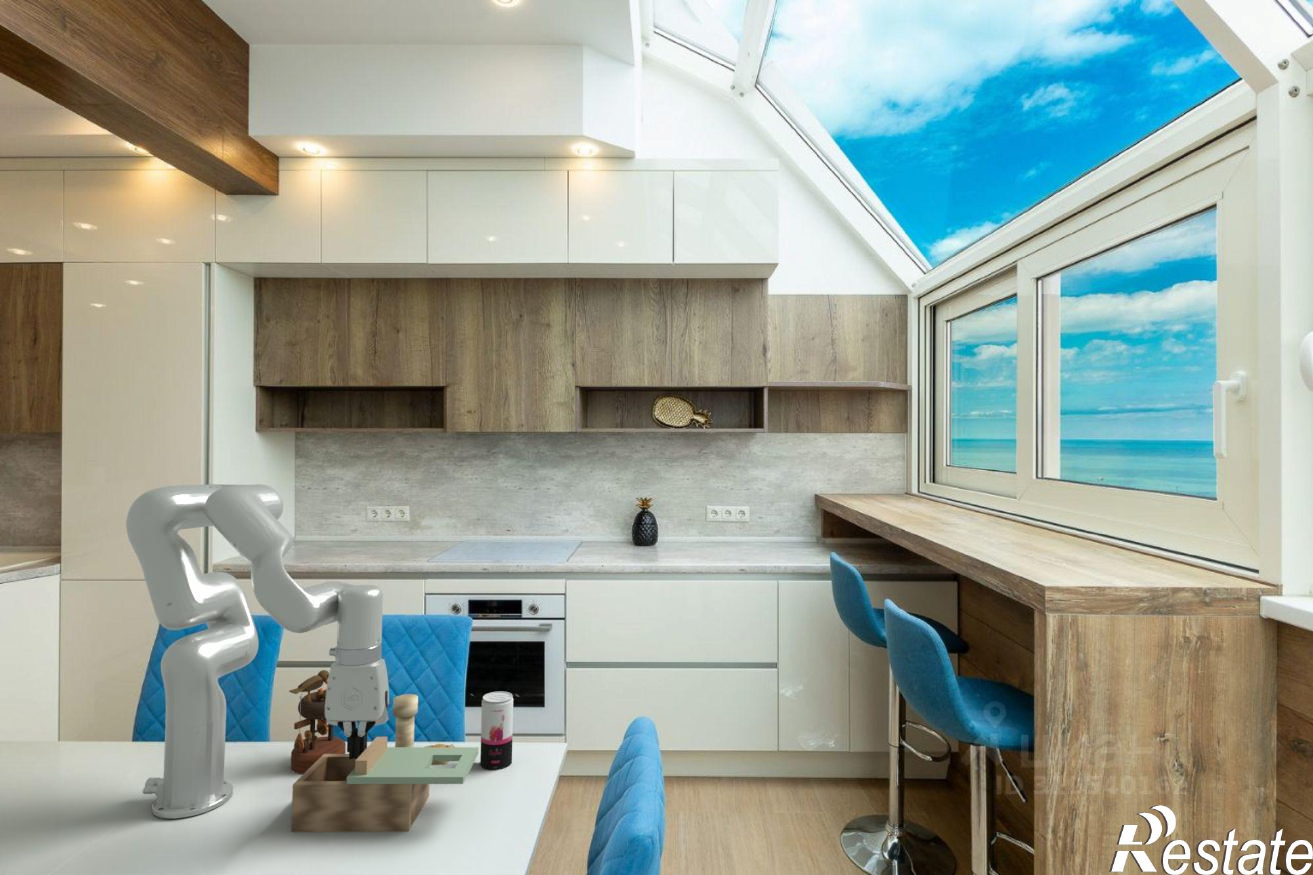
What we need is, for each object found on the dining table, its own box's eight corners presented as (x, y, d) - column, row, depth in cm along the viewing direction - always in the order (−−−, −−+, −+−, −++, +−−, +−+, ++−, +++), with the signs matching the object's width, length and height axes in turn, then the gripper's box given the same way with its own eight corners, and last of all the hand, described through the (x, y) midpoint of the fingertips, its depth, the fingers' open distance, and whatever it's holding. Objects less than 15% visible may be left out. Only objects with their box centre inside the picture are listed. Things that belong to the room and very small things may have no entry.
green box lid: (346, 784, 117) (347, 763, 117) (372, 753, 129) (373, 734, 129) (462, 783, 117) (463, 763, 118) (478, 753, 129) (478, 734, 130)
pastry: (404, 768, 142) (404, 750, 143) (416, 755, 149) (417, 737, 149) (447, 770, 142) (448, 752, 142) (458, 756, 149) (459, 739, 149)
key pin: (387, 782, 136) (389, 702, 136) (395, 771, 141) (397, 694, 141) (411, 782, 136) (413, 702, 137) (419, 771, 141) (421, 694, 141)
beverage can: (500, 777, 139) (502, 703, 139) (473, 771, 141) (475, 699, 142) (517, 763, 145) (519, 693, 146) (491, 758, 147) (493, 689, 148)
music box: (320, 780, 136) (316, 680, 137) (273, 779, 138) (269, 680, 139) (366, 748, 151) (362, 658, 152) (323, 747, 153) (319, 659, 154)
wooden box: (291, 837, 116) (292, 784, 116) (322, 801, 128) (324, 753, 128) (408, 836, 117) (409, 784, 117) (429, 801, 129) (430, 753, 129)
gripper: (307, 660, 119) (305, 765, 119) (393, 660, 120) (391, 765, 119) (327, 648, 127) (324, 747, 126) (407, 648, 127) (405, 746, 127)
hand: (356, 755), depth 123 cm, fingers closed
